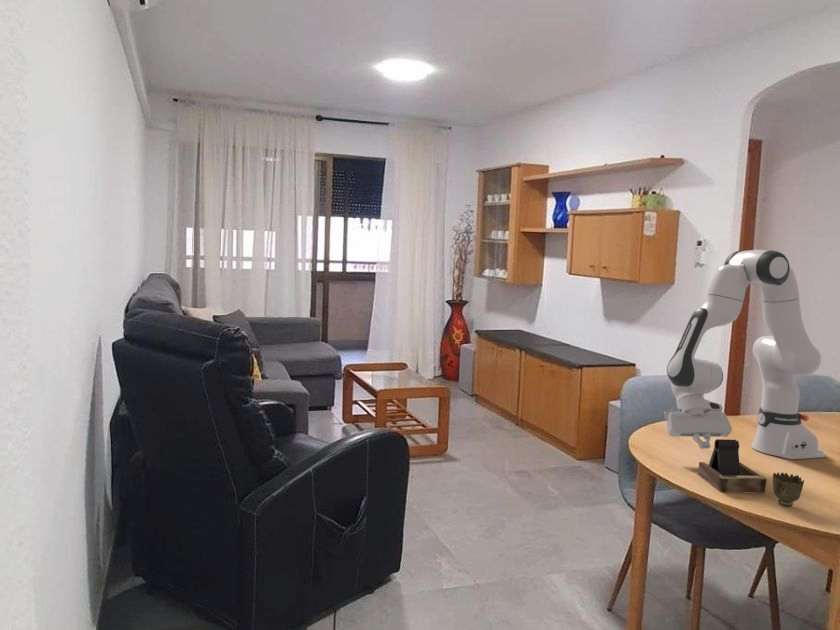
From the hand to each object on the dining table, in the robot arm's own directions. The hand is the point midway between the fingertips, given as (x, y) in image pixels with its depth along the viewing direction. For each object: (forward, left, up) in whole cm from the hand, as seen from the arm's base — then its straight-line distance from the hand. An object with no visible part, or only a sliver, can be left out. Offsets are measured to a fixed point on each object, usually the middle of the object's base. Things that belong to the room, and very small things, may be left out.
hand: (705, 447), depth 209 cm
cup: (-7, +32, -6) cm, 33 cm away
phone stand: (0, +12, -6) cm, 14 cm away
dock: (0, +16, -5) cm, 16 cm away
